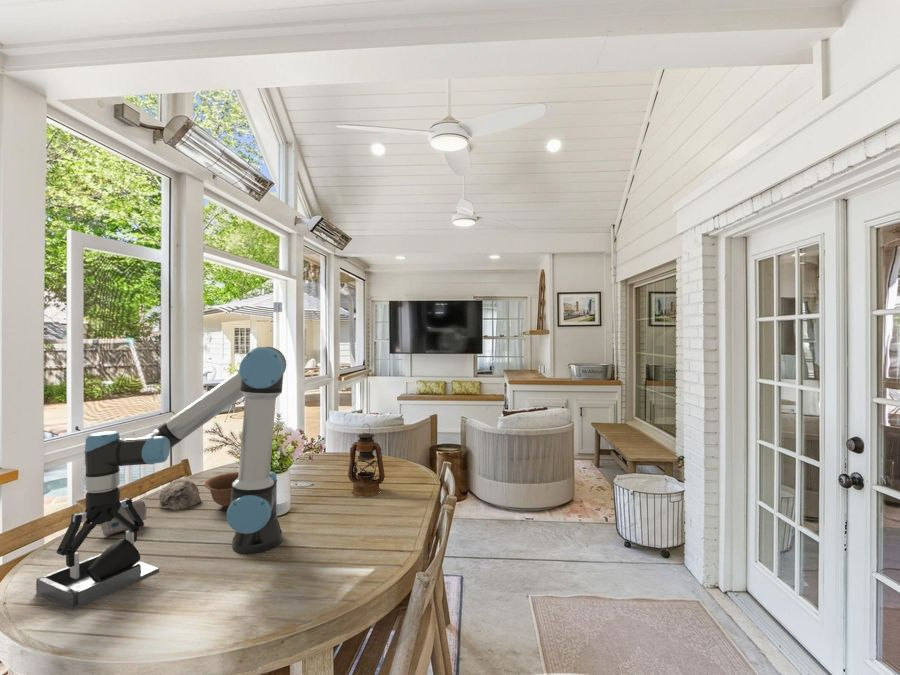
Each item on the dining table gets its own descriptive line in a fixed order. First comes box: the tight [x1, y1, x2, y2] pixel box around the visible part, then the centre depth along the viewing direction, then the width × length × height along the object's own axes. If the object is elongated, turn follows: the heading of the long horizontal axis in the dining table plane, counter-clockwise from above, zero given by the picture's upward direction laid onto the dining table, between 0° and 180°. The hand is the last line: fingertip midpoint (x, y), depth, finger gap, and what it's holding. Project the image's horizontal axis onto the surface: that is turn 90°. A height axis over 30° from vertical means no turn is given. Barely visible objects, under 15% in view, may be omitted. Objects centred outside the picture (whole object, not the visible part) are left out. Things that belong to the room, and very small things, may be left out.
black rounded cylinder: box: [87, 537, 141, 582], centre depth 123 cm, size 8×12×10 cm
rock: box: [158, 478, 202, 511], centre depth 181 cm, size 15×12×10 cm
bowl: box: [203, 471, 239, 511], centre depth 180 cm, size 22×22×11 cm
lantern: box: [347, 423, 386, 497], centre depth 196 cm, size 17×13×30 cm
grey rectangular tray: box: [35, 553, 160, 612], centre depth 123 cm, size 17×21×4 cm
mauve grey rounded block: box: [99, 500, 148, 537], centre depth 156 cm, size 13×10×6 cm
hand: (103, 565), depth 124 cm, fingers open, 13 cm apart
